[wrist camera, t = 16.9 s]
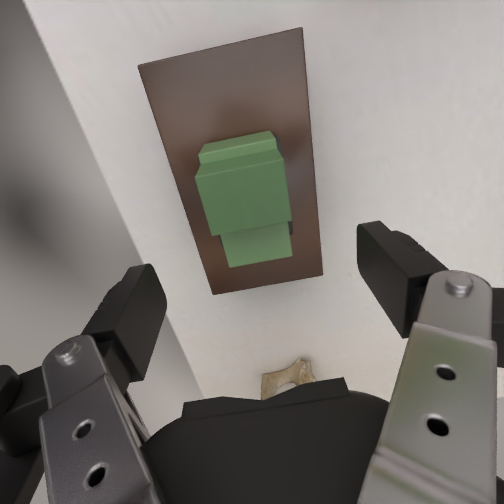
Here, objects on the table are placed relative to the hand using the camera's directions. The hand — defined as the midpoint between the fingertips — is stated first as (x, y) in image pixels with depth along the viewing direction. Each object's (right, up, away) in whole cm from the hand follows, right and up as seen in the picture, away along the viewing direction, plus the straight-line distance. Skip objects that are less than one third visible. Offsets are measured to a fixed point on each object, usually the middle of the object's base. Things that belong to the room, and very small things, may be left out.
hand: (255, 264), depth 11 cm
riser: (-1, +7, +12) cm, 14 cm away
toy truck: (0, +5, +8) cm, 9 cm away
